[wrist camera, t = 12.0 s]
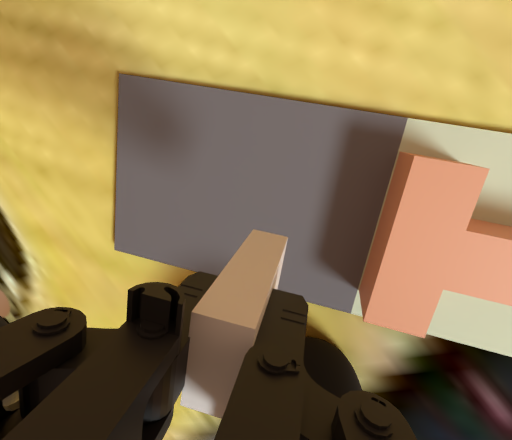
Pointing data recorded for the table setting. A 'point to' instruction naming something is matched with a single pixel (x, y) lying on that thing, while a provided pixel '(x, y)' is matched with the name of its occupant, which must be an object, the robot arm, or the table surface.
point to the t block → (433, 245)
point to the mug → (329, 367)
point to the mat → (288, 189)
